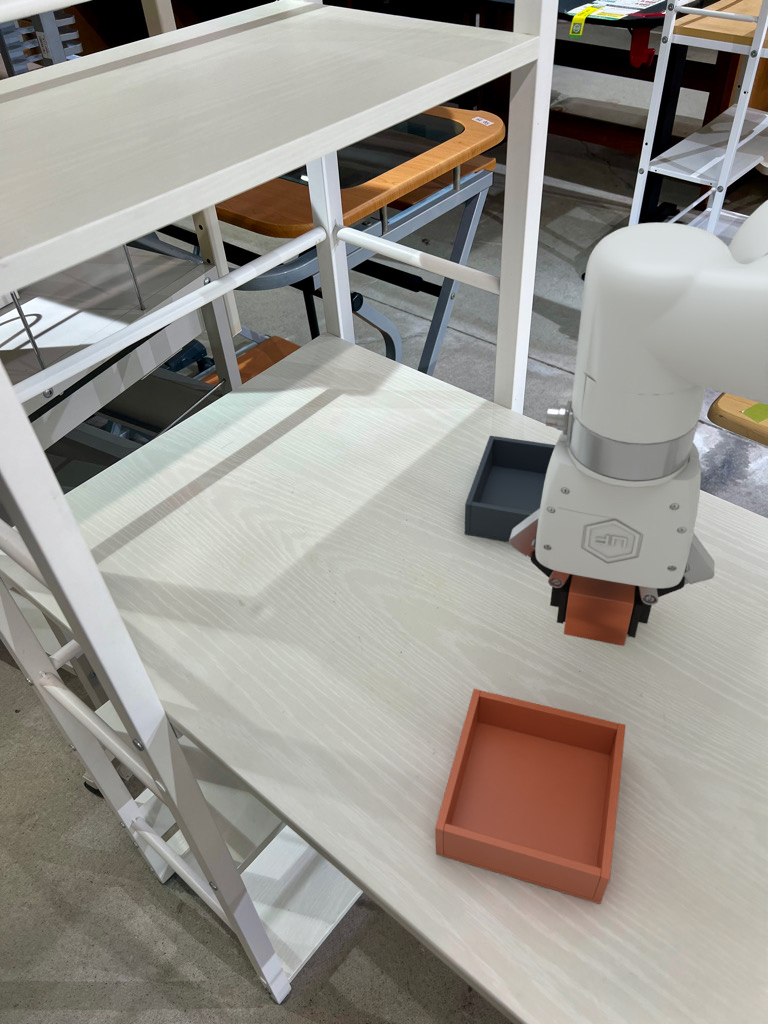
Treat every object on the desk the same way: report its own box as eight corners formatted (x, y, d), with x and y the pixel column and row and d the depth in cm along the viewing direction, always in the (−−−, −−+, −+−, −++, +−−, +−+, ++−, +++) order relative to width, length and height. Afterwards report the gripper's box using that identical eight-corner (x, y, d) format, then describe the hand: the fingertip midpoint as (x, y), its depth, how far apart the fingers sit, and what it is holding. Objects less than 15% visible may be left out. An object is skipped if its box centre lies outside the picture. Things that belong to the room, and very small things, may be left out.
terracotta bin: (617, 753, 62) (625, 724, 59) (600, 904, 53) (609, 879, 50) (472, 717, 65) (473, 688, 62) (435, 854, 57) (434, 828, 53)
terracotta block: (629, 602, 60) (638, 559, 57) (624, 646, 57) (633, 604, 54) (571, 591, 62) (577, 549, 58) (563, 634, 58) (568, 592, 55)
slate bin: (592, 481, 86) (597, 450, 83) (578, 555, 78) (583, 524, 75) (488, 465, 90) (489, 435, 87) (464, 534, 81) (465, 504, 78)
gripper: (484, 450, 47) (481, 631, 59) (780, 490, 42) (710, 678, 54) (507, 384, 52) (501, 564, 64) (774, 413, 47) (711, 601, 59)
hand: (597, 614), depth 59 cm, fingers closed on terracotta block, 4 cm apart
